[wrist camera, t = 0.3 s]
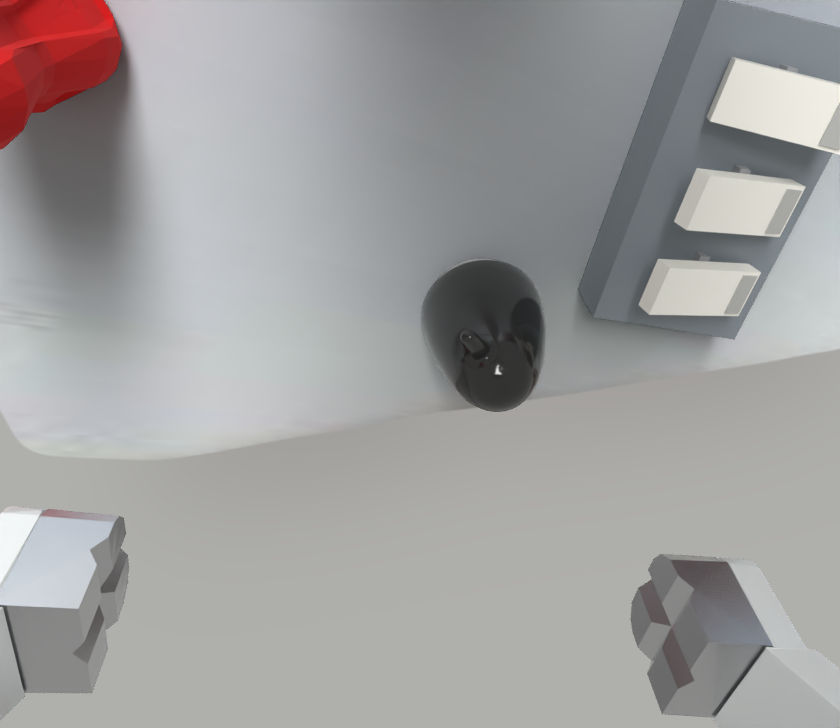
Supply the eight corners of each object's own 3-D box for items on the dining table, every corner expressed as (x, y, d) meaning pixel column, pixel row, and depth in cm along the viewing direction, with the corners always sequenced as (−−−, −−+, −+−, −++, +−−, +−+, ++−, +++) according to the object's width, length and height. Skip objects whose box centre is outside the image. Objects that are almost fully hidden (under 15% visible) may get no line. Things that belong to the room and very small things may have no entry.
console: (687, -10, 49) (723, 1, 44) (852, 30, 51) (904, 44, 46) (577, 289, 62) (596, 323, 57) (712, 311, 64) (741, 345, 59)
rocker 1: (731, 56, 46) (736, 59, 45) (865, 90, 46) (874, 94, 44) (706, 116, 49) (710, 121, 47) (833, 149, 48) (841, 155, 47)
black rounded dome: (499, 217, 57) (536, 306, 45) (551, 309, 63) (596, 412, 50) (395, 276, 60) (402, 376, 47) (453, 360, 65) (473, 470, 52)
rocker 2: (696, 168, 48) (711, 176, 47) (791, 179, 51) (807, 187, 50) (673, 221, 50) (687, 231, 49) (765, 228, 54) (780, 238, 52)
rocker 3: (658, 258, 52) (670, 269, 51) (748, 263, 55) (762, 273, 54) (638, 304, 54) (650, 315, 53) (726, 306, 57) (739, 317, 56)
